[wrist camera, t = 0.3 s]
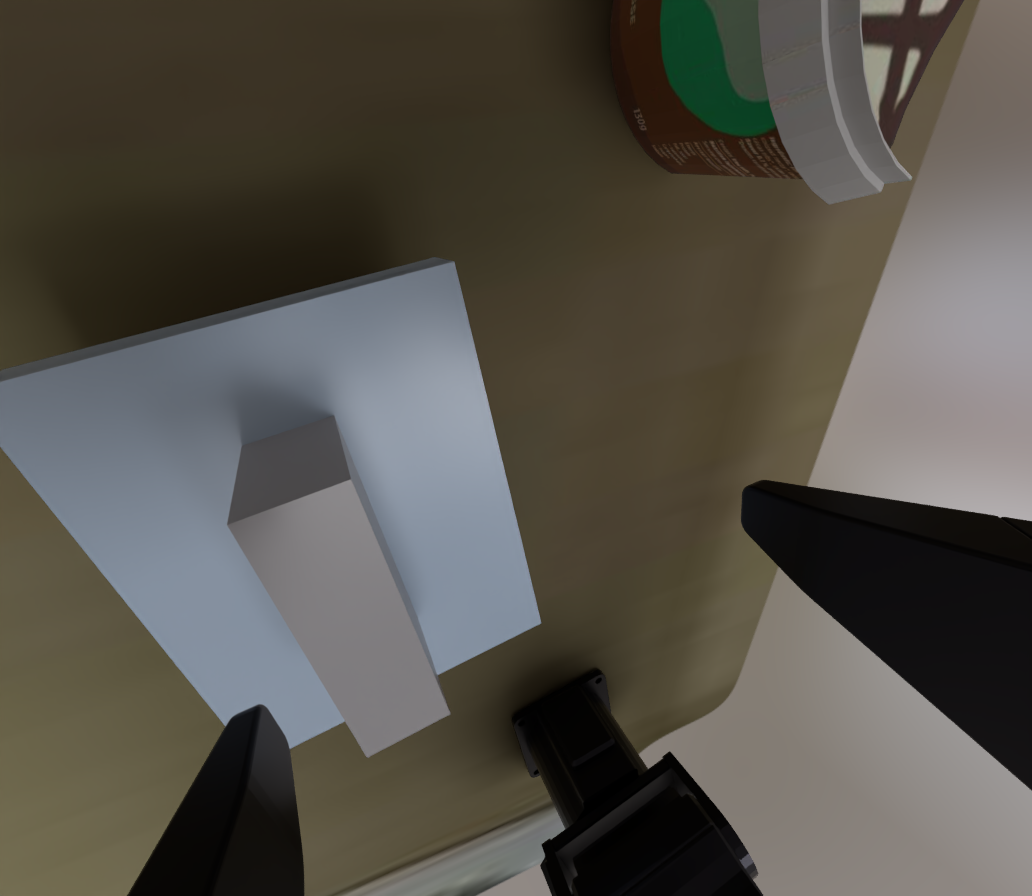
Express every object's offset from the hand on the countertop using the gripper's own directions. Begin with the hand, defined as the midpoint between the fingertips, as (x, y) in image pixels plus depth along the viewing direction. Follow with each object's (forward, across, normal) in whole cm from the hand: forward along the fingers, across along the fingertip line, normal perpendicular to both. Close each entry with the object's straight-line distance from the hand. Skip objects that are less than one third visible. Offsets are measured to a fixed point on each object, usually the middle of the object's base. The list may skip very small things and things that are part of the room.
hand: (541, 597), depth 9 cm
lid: (+10, +3, +2) cm, 10 cm away
